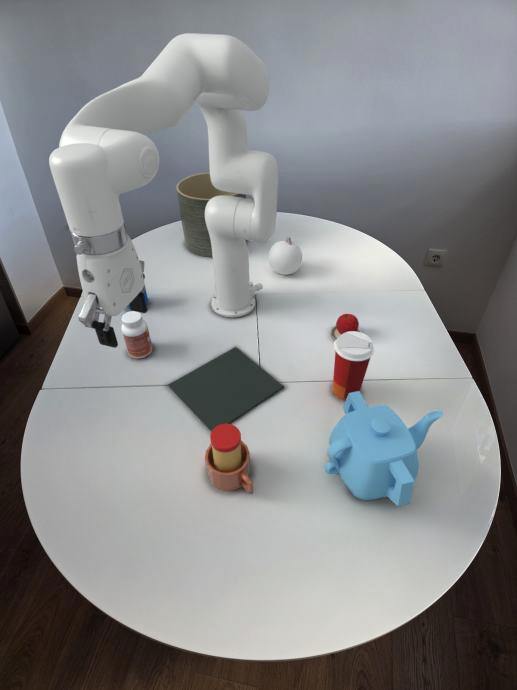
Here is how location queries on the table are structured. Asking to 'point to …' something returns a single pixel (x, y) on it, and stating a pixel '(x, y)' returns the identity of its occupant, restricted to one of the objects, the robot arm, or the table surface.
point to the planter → (197, 211)
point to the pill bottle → (136, 335)
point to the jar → (226, 448)
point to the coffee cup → (350, 362)
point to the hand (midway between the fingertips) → (124, 327)
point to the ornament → (285, 257)
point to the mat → (225, 388)
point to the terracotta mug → (233, 478)
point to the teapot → (376, 450)
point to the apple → (344, 325)
